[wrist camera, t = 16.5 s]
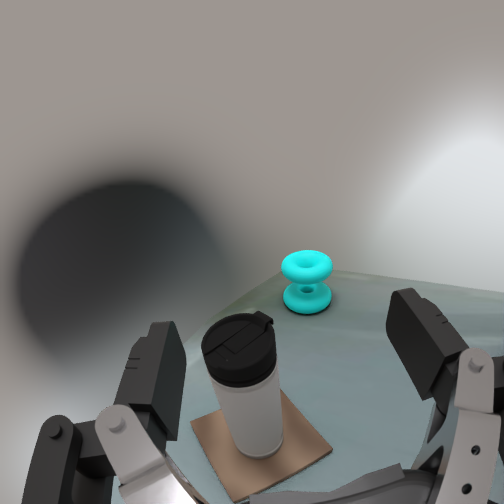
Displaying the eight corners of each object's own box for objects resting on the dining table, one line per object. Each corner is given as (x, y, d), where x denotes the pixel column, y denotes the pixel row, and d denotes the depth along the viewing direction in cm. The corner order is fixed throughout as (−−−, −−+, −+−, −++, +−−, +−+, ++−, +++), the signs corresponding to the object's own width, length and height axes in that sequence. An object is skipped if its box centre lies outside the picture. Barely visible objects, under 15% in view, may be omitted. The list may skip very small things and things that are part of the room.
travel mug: (295, 436, 31) (294, 328, 22) (258, 468, 28) (230, 376, 19) (262, 411, 36) (243, 299, 27) (225, 439, 32) (183, 334, 23)
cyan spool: (343, 261, 52) (300, 279, 49) (340, 304, 57) (301, 323, 53) (312, 243, 60) (271, 257, 57) (312, 282, 65) (274, 298, 61)
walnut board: (276, 387, 41) (275, 383, 40) (331, 451, 29) (332, 448, 29) (191, 425, 35) (189, 421, 35) (234, 503, 24) (233, 501, 23)
